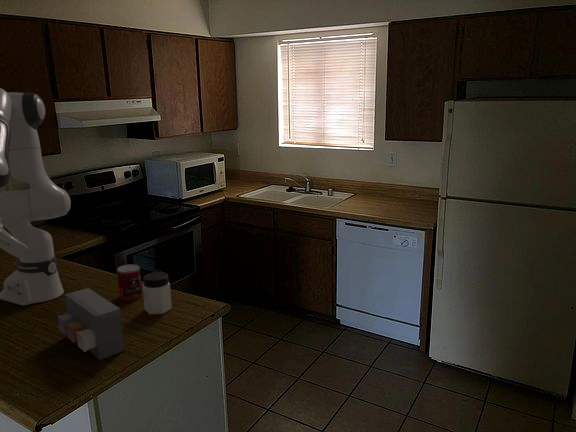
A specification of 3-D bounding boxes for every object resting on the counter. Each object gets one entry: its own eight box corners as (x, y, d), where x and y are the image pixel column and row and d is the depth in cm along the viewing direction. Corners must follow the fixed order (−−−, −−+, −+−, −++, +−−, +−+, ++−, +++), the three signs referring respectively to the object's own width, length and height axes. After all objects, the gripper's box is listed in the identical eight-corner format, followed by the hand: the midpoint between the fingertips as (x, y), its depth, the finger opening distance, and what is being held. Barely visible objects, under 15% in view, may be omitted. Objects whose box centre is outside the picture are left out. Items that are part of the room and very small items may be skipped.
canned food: (124, 303, 170) (122, 273, 167) (116, 296, 176) (113, 267, 173) (145, 297, 174) (143, 268, 172) (136, 290, 180) (134, 262, 178)
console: (100, 360, 133) (95, 316, 130) (70, 334, 148) (65, 294, 145) (124, 350, 138) (120, 308, 135) (92, 326, 153) (88, 288, 149)
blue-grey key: (65, 334, 141) (63, 320, 140) (59, 329, 144) (57, 315, 143) (90, 325, 146) (89, 312, 145) (84, 321, 149) (83, 307, 148)
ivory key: (84, 352, 131) (83, 337, 130) (78, 346, 134) (76, 331, 133) (111, 342, 136) (109, 327, 135) (104, 336, 139) (103, 322, 138)
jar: (173, 303, 169) (171, 271, 166) (170, 313, 161) (167, 279, 158) (146, 304, 168) (144, 272, 165) (142, 315, 160) (139, 281, 157)
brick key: (74, 343, 136) (72, 328, 135) (68, 337, 139) (66, 323, 138) (100, 333, 141) (98, 319, 140) (93, 328, 144) (92, 315, 143)
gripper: (2, 225, 120) (49, 253, 129) (-20, 209, 134) (24, 236, 143) (-15, 246, 118) (33, 273, 127) (-36, 228, 132) (9, 254, 141)
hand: (28, 253), depth 135 cm, fingers closed
